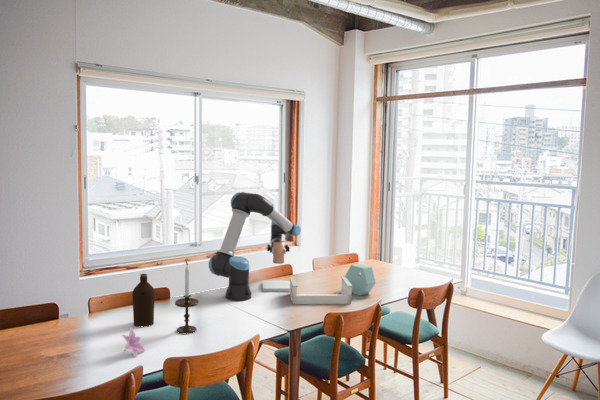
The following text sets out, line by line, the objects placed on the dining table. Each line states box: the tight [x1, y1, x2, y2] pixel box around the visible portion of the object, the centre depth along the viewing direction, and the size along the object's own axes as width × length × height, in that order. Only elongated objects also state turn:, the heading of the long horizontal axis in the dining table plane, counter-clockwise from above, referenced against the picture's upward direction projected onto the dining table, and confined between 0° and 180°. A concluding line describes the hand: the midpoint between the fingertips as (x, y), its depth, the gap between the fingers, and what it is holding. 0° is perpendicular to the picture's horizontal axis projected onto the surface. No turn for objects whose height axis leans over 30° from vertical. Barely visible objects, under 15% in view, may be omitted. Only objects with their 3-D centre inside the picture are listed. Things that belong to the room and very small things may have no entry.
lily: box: [121, 327, 146, 357], centre depth 209 cm, size 12×12×10 cm
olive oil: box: [131, 273, 156, 328], centre depth 242 cm, size 11×11×25 cm
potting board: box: [261, 280, 290, 293], centre depth 314 cm, size 18×18×2 cm
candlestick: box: [174, 260, 199, 335], centre depth 234 cm, size 11×11×35 cm
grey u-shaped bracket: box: [289, 276, 353, 305], centre depth 293 cm, size 35×20×11 cm, turn 96°
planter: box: [344, 263, 376, 297], centre depth 307 cm, size 17×8×21 cm
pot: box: [272, 240, 286, 265], centre depth 311 cm, size 7×7×13 cm
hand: (279, 251), depth 308 cm, fingers closed on pot, 7 cm apart
